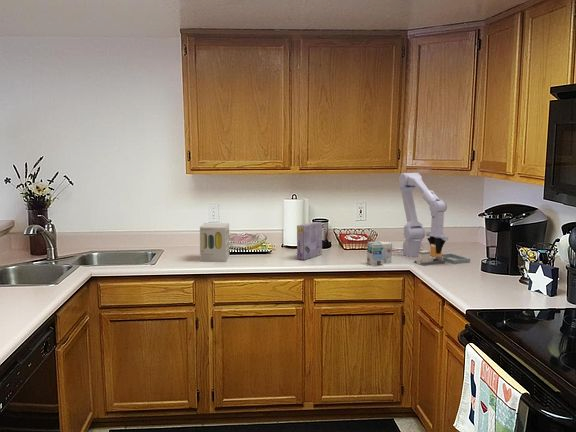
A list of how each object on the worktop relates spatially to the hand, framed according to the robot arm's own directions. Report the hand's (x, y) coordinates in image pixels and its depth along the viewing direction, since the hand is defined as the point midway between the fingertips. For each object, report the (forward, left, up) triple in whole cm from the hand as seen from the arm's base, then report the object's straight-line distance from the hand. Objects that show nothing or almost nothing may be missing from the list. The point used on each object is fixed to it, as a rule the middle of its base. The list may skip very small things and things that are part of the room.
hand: (436, 252), depth 274 cm
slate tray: (0, +10, -6) cm, 12 cm away
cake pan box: (-39, -50, -6) cm, 63 cm away
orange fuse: (0, 0, -2) cm, 2 cm away
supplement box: (-53, -97, -6) cm, 110 cm away
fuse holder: (0, -4, -6) cm, 7 cm away
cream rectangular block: (0, -7, -5) cm, 9 cm away
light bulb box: (-11, -26, -6) cm, 28 cm away
